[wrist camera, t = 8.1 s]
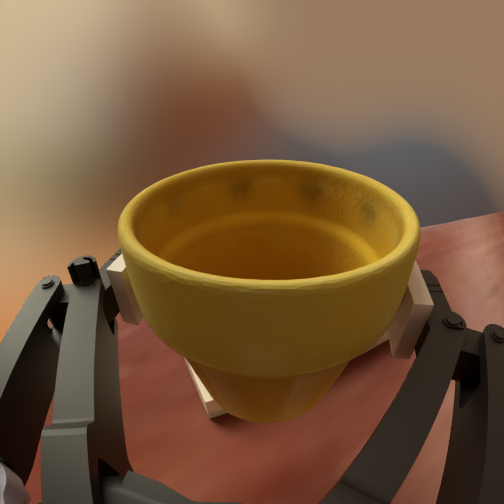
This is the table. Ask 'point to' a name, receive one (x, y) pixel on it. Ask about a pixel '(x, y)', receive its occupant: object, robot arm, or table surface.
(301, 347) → the plant pot
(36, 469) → the table surface
